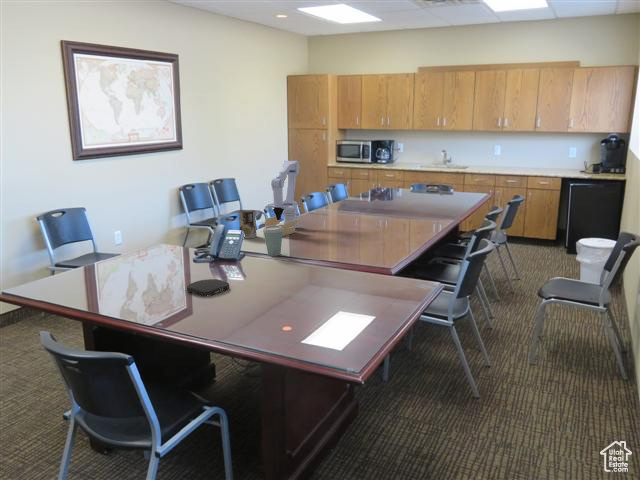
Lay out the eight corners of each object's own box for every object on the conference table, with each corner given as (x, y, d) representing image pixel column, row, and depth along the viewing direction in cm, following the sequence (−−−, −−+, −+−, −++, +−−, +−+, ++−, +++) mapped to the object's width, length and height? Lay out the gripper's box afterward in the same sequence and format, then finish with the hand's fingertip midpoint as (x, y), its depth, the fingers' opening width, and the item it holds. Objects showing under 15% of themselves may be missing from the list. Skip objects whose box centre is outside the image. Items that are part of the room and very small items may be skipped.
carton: (280, 230, 339) (280, 224, 338) (295, 232, 332) (295, 226, 332) (263, 235, 325) (263, 229, 324) (278, 237, 318) (278, 231, 317)
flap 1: (278, 223, 337) (280, 214, 335) (279, 223, 337) (281, 214, 334) (264, 227, 325) (266, 218, 323) (264, 227, 325) (266, 218, 322)
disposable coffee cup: (280, 257, 272) (279, 229, 269) (260, 256, 274) (259, 228, 271) (286, 252, 282) (285, 224, 279) (267, 251, 284) (265, 224, 281)
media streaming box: (211, 283, 232) (210, 276, 231) (233, 289, 222) (232, 282, 222) (183, 291, 221) (182, 284, 220) (205, 298, 211) (205, 291, 211)
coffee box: (256, 236, 323) (255, 210, 320) (254, 238, 317) (253, 212, 314) (242, 236, 324) (241, 210, 321) (239, 238, 318) (238, 211, 314)
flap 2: (294, 225, 330) (299, 218, 327) (294, 225, 330) (299, 219, 327) (279, 229, 318) (284, 222, 315) (280, 230, 318) (285, 222, 315)
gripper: (264, 198, 324) (265, 219, 327) (283, 199, 317) (284, 221, 320) (271, 196, 330) (272, 218, 333) (290, 198, 322) (291, 220, 325)
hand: (278, 219), depth 327 cm, fingers closed
